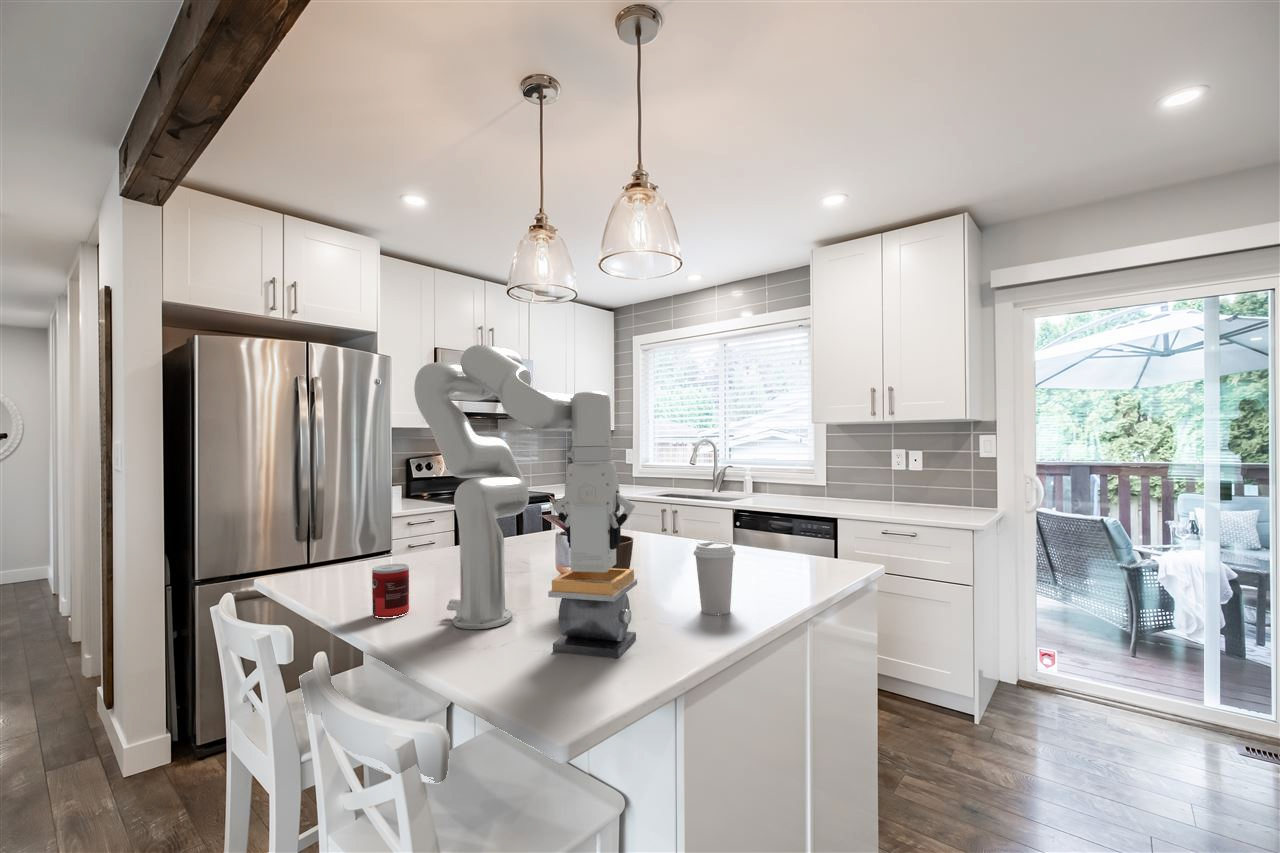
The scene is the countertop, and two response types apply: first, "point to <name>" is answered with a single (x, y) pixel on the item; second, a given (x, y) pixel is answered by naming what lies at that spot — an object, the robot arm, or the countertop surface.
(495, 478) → the robot arm
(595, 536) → the supplement box
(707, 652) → the countertop surface
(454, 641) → the countertop surface
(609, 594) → the tray on grey cylinder
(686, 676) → the countertop surface
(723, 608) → the coffee cup
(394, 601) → the canned food
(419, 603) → the countertop surface
